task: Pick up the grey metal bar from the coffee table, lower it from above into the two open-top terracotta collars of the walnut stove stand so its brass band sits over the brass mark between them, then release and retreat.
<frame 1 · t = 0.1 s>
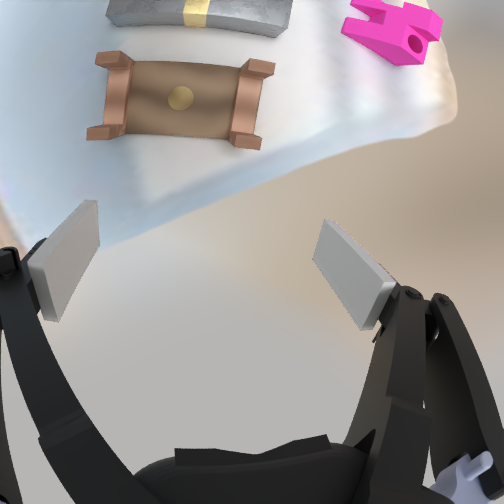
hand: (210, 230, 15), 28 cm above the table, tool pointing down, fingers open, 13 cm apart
stove stand: (181, 98, 34), on the table
grey metal bar: (199, 9, 28), on the table
bracket: (375, 28, 32), on the table
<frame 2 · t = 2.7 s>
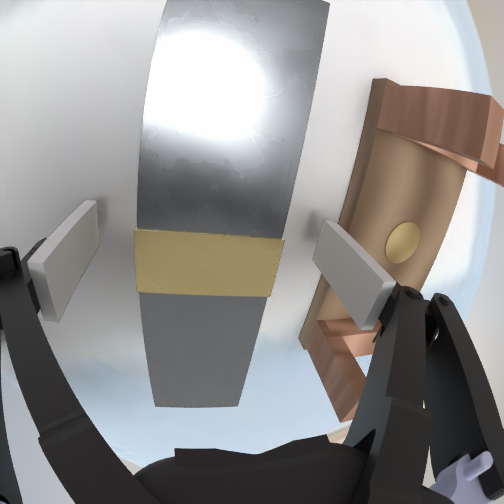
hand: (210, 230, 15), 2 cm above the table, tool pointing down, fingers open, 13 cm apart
stove stand: (391, 233, 21), on the table
grey metal bar: (202, 214, 17), on the table
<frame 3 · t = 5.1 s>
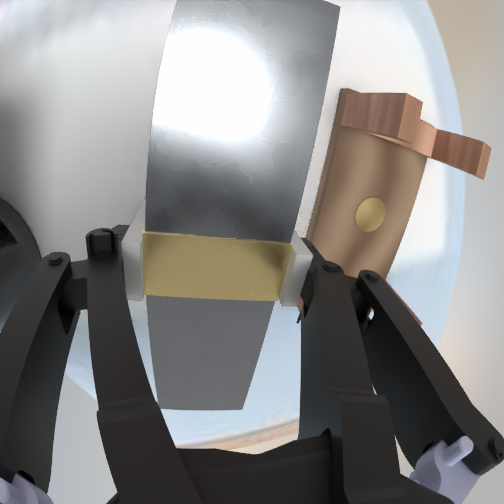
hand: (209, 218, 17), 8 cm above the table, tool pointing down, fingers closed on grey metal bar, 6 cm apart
stove stand: (362, 208, 27), on the table
grey metal bar: (209, 217, 17), point 7 cm above the table, touching gripper
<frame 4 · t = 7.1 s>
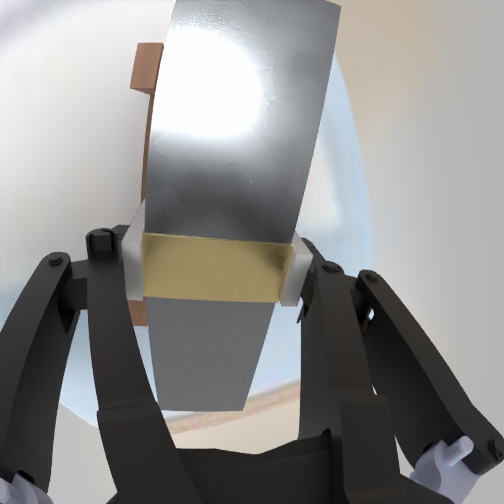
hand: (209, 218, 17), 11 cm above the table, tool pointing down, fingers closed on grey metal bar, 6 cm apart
stove stand: (200, 175, 26), on the table
grey metal bar: (209, 217, 17), point 11 cm above the table, touching gripper
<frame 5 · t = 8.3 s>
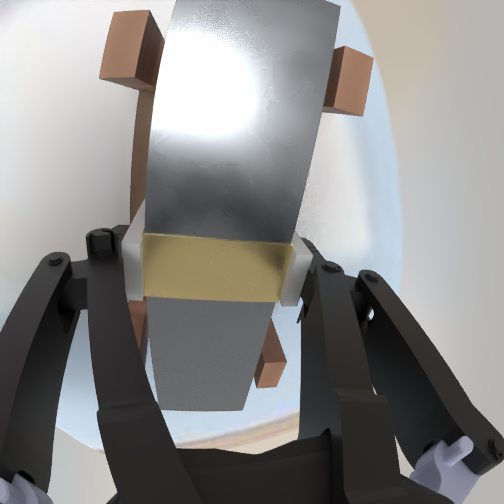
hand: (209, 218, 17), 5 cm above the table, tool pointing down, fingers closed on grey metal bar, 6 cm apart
stove stand: (205, 195, 21), on the table
grey metal bar: (209, 217, 17), point 4 cm above the table, touching gripper
when the fingers open (4 cm above the table, at t = 9.2 s): grey metal bar stays where it is, resting on stove stand.
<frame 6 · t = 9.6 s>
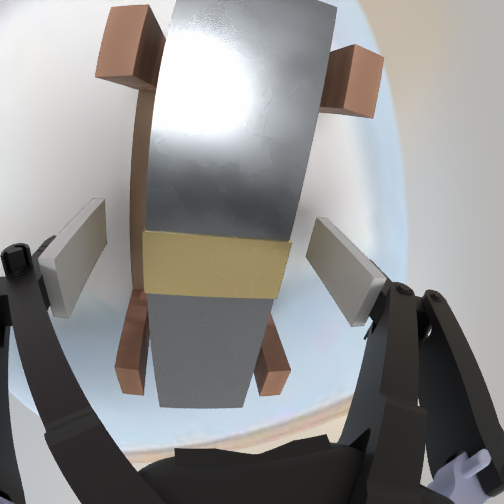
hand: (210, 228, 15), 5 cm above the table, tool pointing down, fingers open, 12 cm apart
stove stand: (207, 198, 20), on the table
grey metal bar: (209, 216, 17), point 3 cm above the table, touching stove stand
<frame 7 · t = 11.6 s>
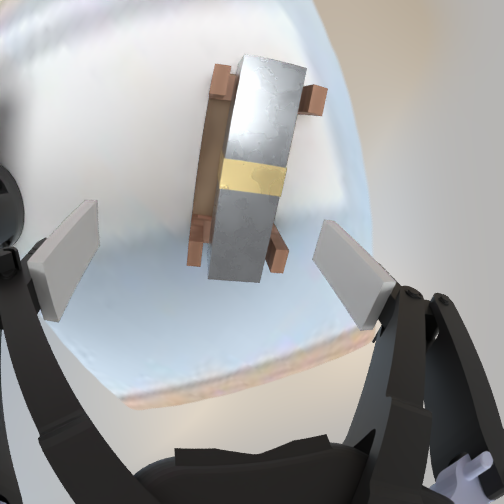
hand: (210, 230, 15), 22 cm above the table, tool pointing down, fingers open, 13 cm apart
stove stand: (242, 161, 35), on the table
grey metal bar: (245, 166, 32), point 3 cm above the table, touching stove stand
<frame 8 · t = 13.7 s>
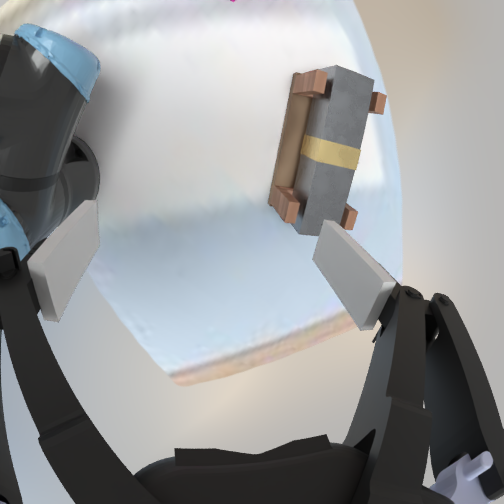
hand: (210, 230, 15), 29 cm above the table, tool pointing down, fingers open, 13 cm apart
stove stand: (312, 144, 42), on the table
grey metal bar: (321, 148, 39), point 3 cm above the table, touching stove stand
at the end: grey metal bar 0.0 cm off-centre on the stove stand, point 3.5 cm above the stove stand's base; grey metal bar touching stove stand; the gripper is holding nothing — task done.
